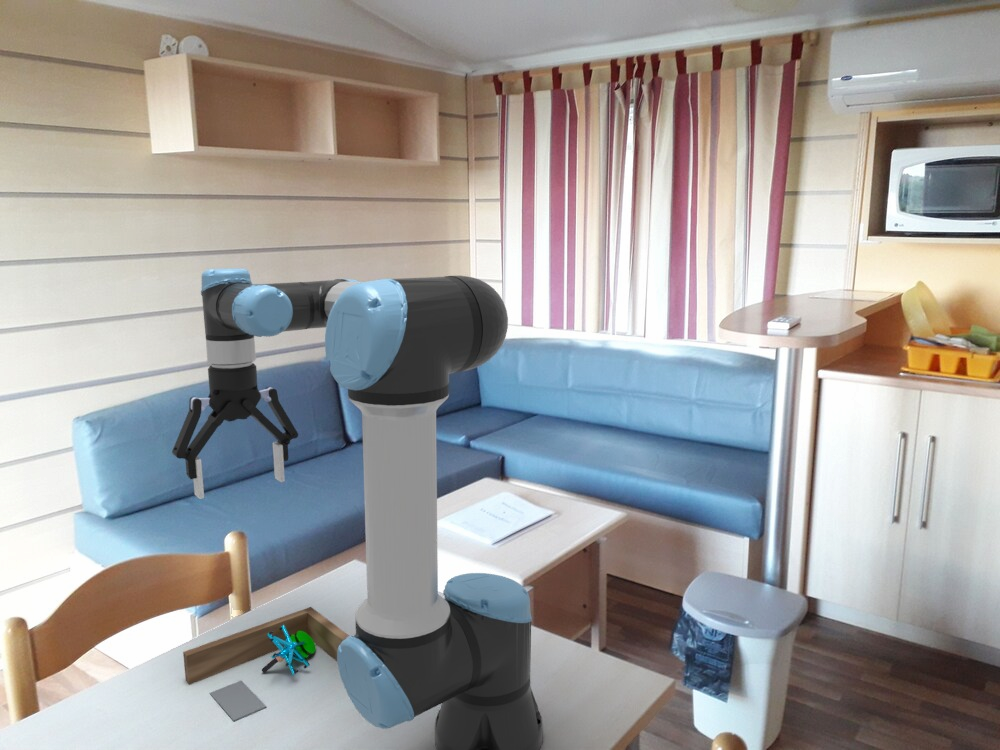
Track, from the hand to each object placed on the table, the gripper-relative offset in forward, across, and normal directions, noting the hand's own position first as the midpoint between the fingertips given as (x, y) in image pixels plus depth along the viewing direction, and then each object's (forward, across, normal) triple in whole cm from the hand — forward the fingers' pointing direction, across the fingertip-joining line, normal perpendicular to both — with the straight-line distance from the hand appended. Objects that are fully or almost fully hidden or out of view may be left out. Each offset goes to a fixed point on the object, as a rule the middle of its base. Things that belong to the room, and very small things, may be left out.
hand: (240, 488), depth 131 cm
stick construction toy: (+28, -2, +16) cm, 32 cm away
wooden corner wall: (+27, -9, +14) cm, 32 cm away
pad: (+27, +8, +18) cm, 33 cm away
